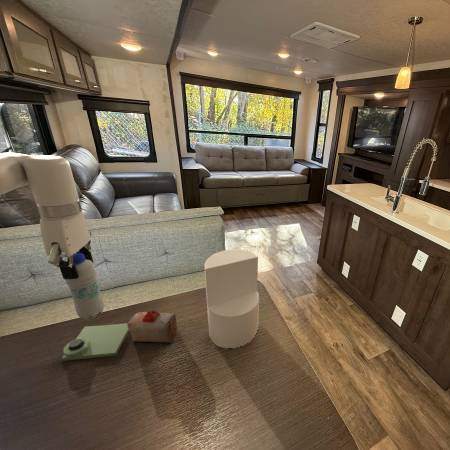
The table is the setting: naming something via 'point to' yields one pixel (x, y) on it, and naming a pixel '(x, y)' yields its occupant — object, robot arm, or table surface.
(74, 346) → the tare button
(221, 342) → the cylinder
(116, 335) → the scale
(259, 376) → the table surface
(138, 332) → the food item
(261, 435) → the table surface
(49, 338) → the table surface
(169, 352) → the table surface
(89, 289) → the bottle
